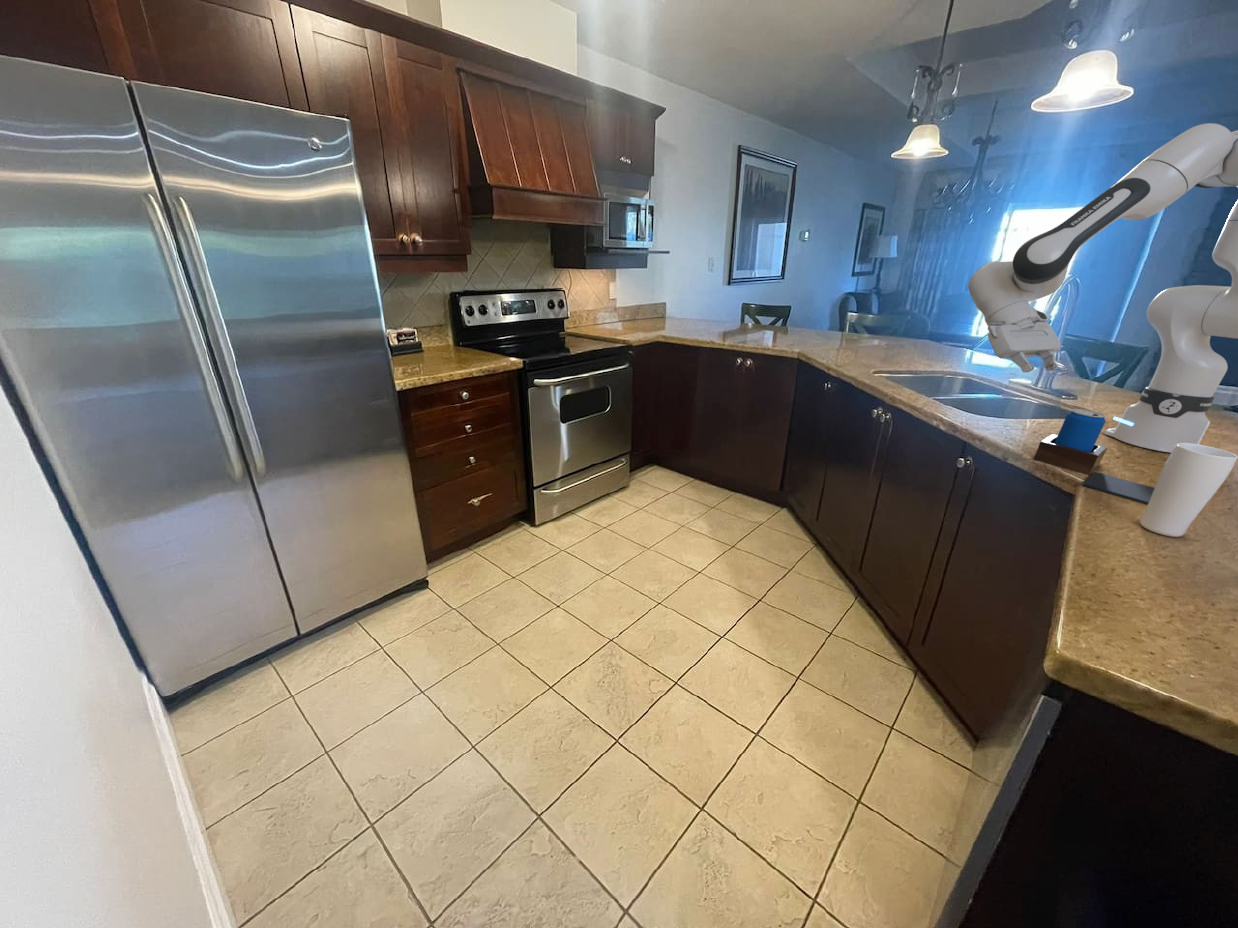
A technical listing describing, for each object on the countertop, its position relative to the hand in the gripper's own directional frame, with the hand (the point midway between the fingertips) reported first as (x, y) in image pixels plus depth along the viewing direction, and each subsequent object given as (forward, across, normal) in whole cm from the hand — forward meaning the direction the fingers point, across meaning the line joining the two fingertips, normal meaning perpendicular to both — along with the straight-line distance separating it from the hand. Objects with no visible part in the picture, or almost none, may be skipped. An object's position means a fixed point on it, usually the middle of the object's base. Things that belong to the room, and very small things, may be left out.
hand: (1041, 370), depth 112 cm
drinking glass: (+39, -21, -12) cm, 46 cm away
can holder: (+22, 0, +5) cm, 22 cm away
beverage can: (+22, 0, +5) cm, 22 cm away
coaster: (+31, -6, -4) cm, 32 cm away
